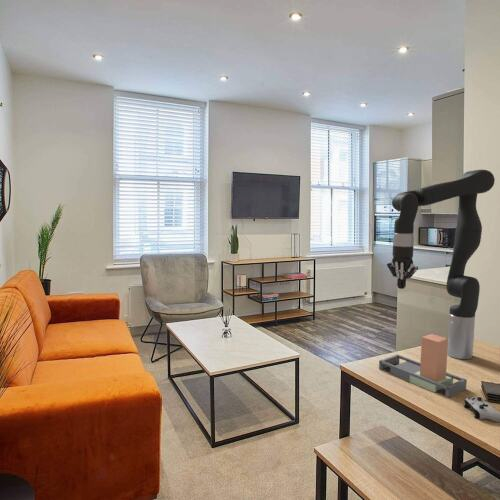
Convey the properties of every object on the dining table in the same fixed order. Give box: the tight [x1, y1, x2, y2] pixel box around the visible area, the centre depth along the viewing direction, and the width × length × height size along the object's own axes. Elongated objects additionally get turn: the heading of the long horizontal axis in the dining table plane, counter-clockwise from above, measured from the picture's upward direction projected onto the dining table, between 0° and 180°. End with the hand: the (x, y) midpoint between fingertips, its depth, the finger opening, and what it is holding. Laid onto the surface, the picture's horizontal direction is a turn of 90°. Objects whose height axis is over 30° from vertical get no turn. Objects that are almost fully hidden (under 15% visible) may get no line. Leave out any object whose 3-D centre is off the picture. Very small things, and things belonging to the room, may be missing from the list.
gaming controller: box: [463, 396, 500, 423], centre depth 119 cm, size 11×6×7 cm
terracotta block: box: [419, 333, 448, 382], centre depth 137 cm, size 6×6×14 cm
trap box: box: [378, 354, 468, 399], centre depth 142 cm, size 11×27×3 cm, turn 34°
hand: (401, 288), depth 157 cm, fingers closed
